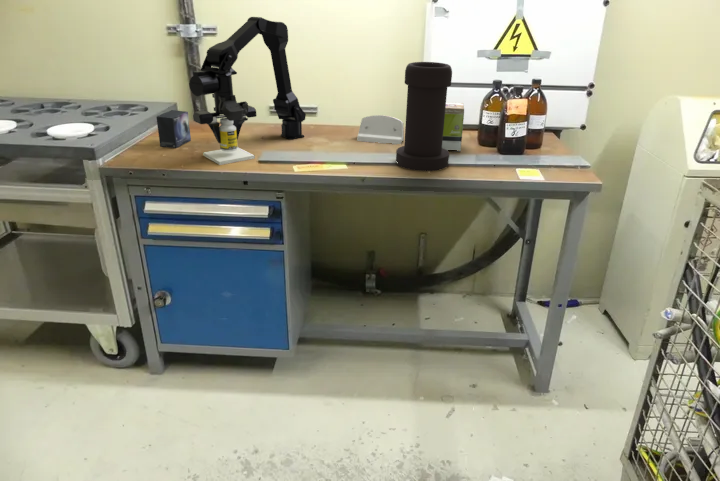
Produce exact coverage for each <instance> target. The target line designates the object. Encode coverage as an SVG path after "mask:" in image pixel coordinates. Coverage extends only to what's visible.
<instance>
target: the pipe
mask: <svg viewBox="0 0 720 481" xmlns="http://www.w3.org/2000/svg"><path fill="white" fill-rule="evenodd" d="M452 79H453V69H452V67H451V65H450V64H448V63H443V62H437V61H432V62H431V61H415V62H414V61H413V62H409V63H408V64H407V65H406V67H405V70H404V85H406V86H407V92H406V93H407V94H406V98H407V99H406V111H405V112H406V114H405V126H404V145H402V146H400V147H398V148H397V149H396V152H395V154H396V156H395V162H396V161H397V162H398V165H397V166H399V167H401V168H403V169H406V170H410V171H418V172H434V171H441V170H443V169H446V168H448V167H449V159H450V158H449V157H450V152H449V151H448V150H446V149H443V148H442V141H443V130H444V119H445V108H446V103H447V95H448V94H447V93H448V88H449V87H451V86H452V81H453V80H452Z"/></svg>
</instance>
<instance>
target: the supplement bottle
mask: <svg viewBox="0 0 720 481" xmlns="http://www.w3.org/2000/svg"><path fill="white" fill-rule="evenodd" d="M219 123H220V125H219V131H220V138H221V143H219V148H220V149H219V150H222V151H225V152H232V151H236V150H237V149H238V147H239V146H238V140H237V132H236V127H235V126H234V125H233V123H234V122H233V121H230V120H228V119H227V117H224V118H219Z"/></svg>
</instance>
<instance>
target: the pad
mask: <svg viewBox="0 0 720 481" xmlns="http://www.w3.org/2000/svg"><path fill="white" fill-rule="evenodd" d="M202 154H203V156H204V157H205V158H207V159H209V160H210V161H212V162H214V163H215V164H218V165H219V166H221V165H227V164H232V163H238V162H243V161H248V160H255V158H256V157H255V155H254V154H252V153H250V152H249V151H246V150H245V149H242V148H241V147H239V146H238V149H237V150H236V151H232V152H225V151H222V150H221V149H215V150H210V151H205V152H203V153H202Z"/></svg>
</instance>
